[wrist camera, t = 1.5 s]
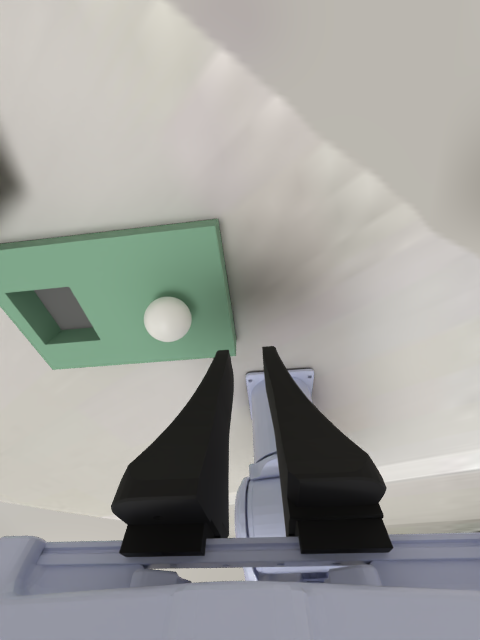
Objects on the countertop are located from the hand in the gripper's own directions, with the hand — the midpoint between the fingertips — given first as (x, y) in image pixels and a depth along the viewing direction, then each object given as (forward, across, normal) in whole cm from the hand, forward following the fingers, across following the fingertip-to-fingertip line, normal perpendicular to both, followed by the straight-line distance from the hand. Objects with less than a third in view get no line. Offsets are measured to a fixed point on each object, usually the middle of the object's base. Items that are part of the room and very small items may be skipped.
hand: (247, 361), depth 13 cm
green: (+9, +11, 0) cm, 14 cm away
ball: (+5, +6, 0) cm, 8 cm away
